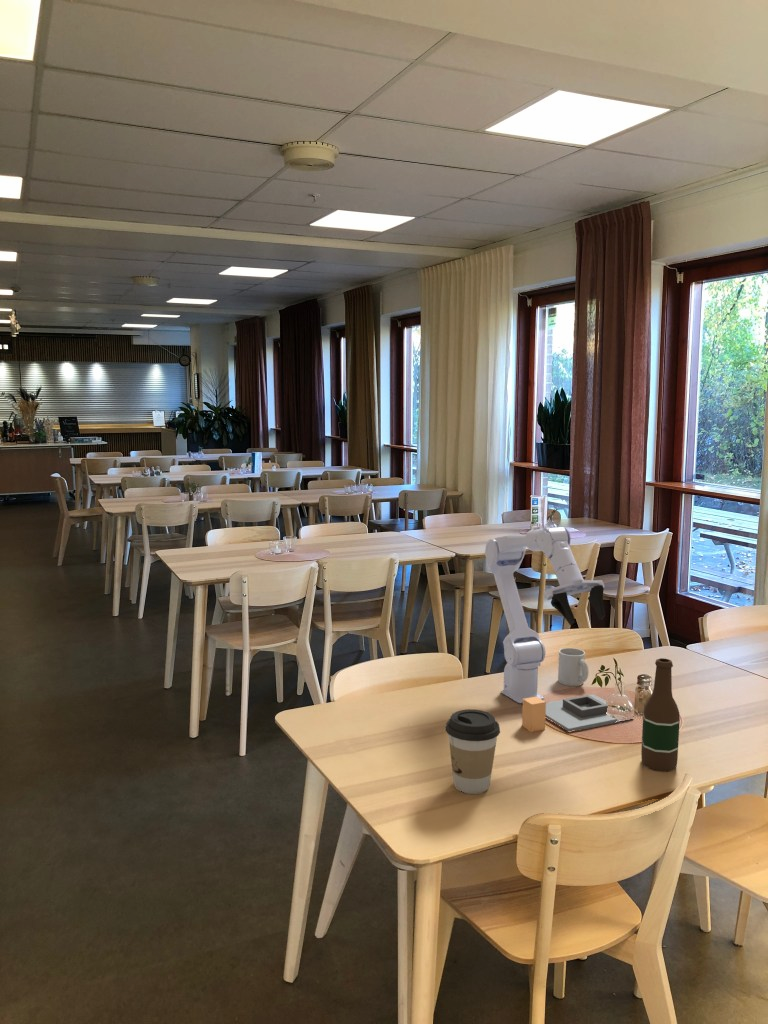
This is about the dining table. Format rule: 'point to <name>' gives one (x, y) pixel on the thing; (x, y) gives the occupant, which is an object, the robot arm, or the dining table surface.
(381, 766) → the dining table surface
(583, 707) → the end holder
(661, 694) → the beer bottle
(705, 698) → the dining table surface
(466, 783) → the coffee cup
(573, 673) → the cup
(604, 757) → the dining table surface
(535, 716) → the orange rectangular block
